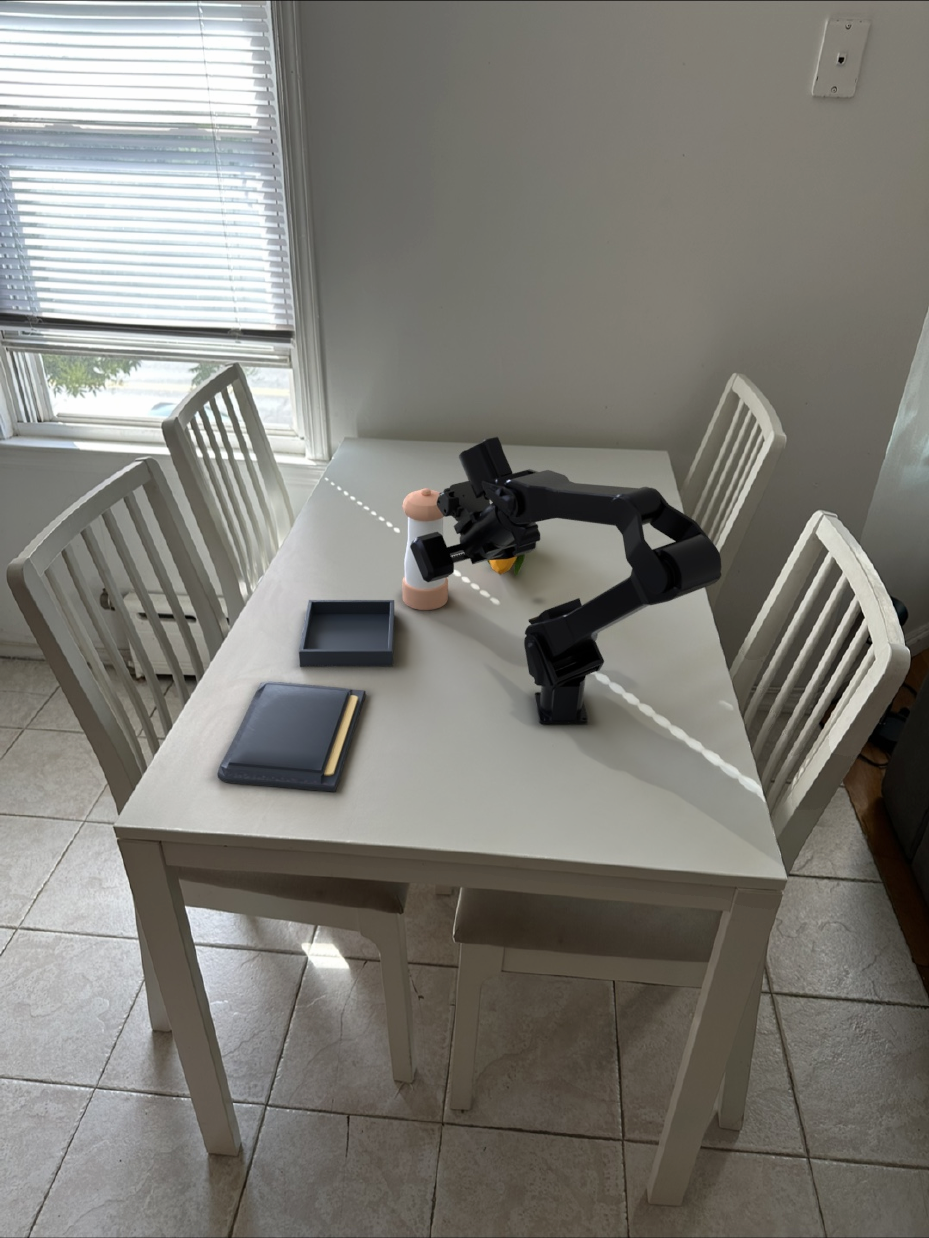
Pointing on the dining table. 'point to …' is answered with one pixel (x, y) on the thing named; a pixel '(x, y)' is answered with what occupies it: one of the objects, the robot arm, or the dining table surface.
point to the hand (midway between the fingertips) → (451, 564)
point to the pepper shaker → (420, 522)
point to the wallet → (293, 737)
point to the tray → (348, 633)
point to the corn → (507, 564)
